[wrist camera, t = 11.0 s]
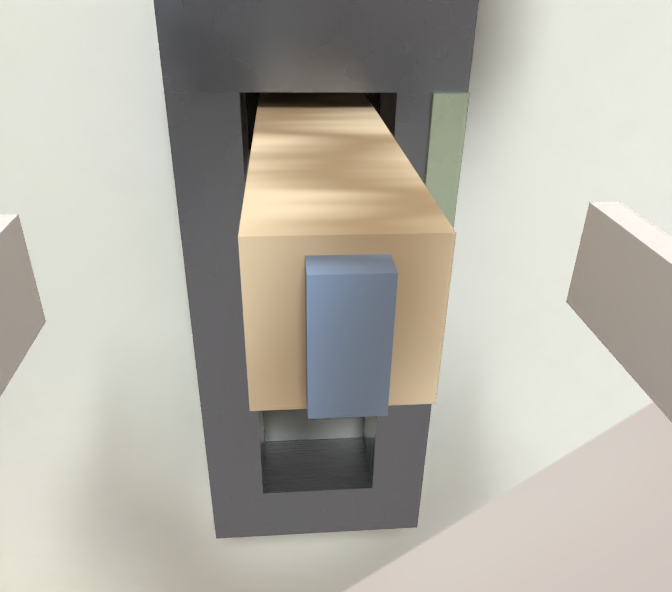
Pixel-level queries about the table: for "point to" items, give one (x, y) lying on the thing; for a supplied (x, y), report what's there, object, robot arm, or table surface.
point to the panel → (225, 213)
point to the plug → (339, 262)
